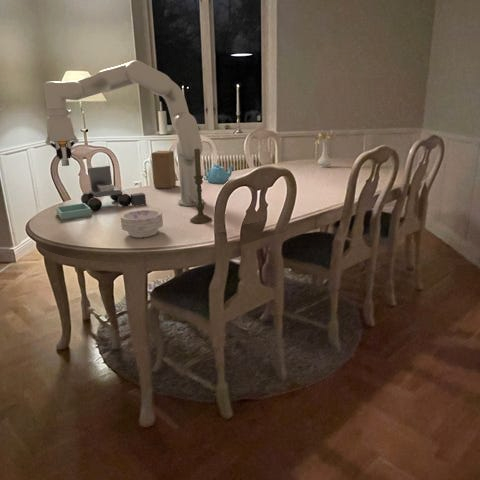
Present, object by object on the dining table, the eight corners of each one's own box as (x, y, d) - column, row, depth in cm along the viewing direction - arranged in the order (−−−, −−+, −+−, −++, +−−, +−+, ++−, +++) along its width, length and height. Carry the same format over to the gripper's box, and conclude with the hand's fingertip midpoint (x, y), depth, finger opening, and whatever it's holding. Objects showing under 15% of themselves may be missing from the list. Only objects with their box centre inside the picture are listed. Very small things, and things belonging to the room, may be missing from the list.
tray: (91, 216, 189) (90, 208, 188) (62, 220, 183) (60, 212, 182) (85, 210, 199) (84, 203, 198) (57, 214, 193) (55, 207, 192)
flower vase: (308, 168, 293) (309, 130, 285) (323, 164, 306) (325, 128, 297) (324, 170, 284) (326, 131, 276) (339, 166, 297) (341, 129, 289)
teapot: (200, 183, 253) (199, 165, 250) (215, 178, 265) (214, 162, 262) (221, 185, 246) (220, 167, 243) (235, 180, 258) (234, 163, 254)
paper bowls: (149, 225, 172) (148, 206, 170) (171, 233, 162) (169, 213, 159) (115, 234, 163) (112, 214, 160) (136, 243, 152) (133, 222, 149)
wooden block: (170, 188, 240) (167, 152, 233) (153, 188, 242) (150, 152, 235) (176, 185, 249) (173, 150, 243) (160, 185, 251) (157, 150, 245)
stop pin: (71, 165, 183) (68, 141, 180) (61, 166, 181) (57, 141, 178) (69, 164, 186) (66, 140, 183) (59, 165, 184) (56, 141, 181)
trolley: (132, 205, 205) (128, 168, 199) (89, 212, 195) (83, 173, 189) (122, 199, 217) (118, 164, 212) (81, 205, 208) (76, 168, 202)
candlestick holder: (203, 225, 171) (199, 149, 162) (185, 222, 176) (180, 148, 166) (216, 219, 179) (213, 146, 169) (198, 216, 183) (194, 145, 174)
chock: (146, 204, 207) (145, 194, 206) (134, 206, 204) (132, 195, 203) (143, 202, 211) (142, 192, 209) (131, 204, 208) (130, 194, 206)
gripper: (76, 112, 184) (82, 155, 190) (35, 114, 176) (42, 159, 181) (80, 113, 178) (86, 157, 184) (37, 114, 170) (45, 161, 175)
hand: (64, 158), depth 182 cm, fingers closed on stop pin, 3 cm apart
